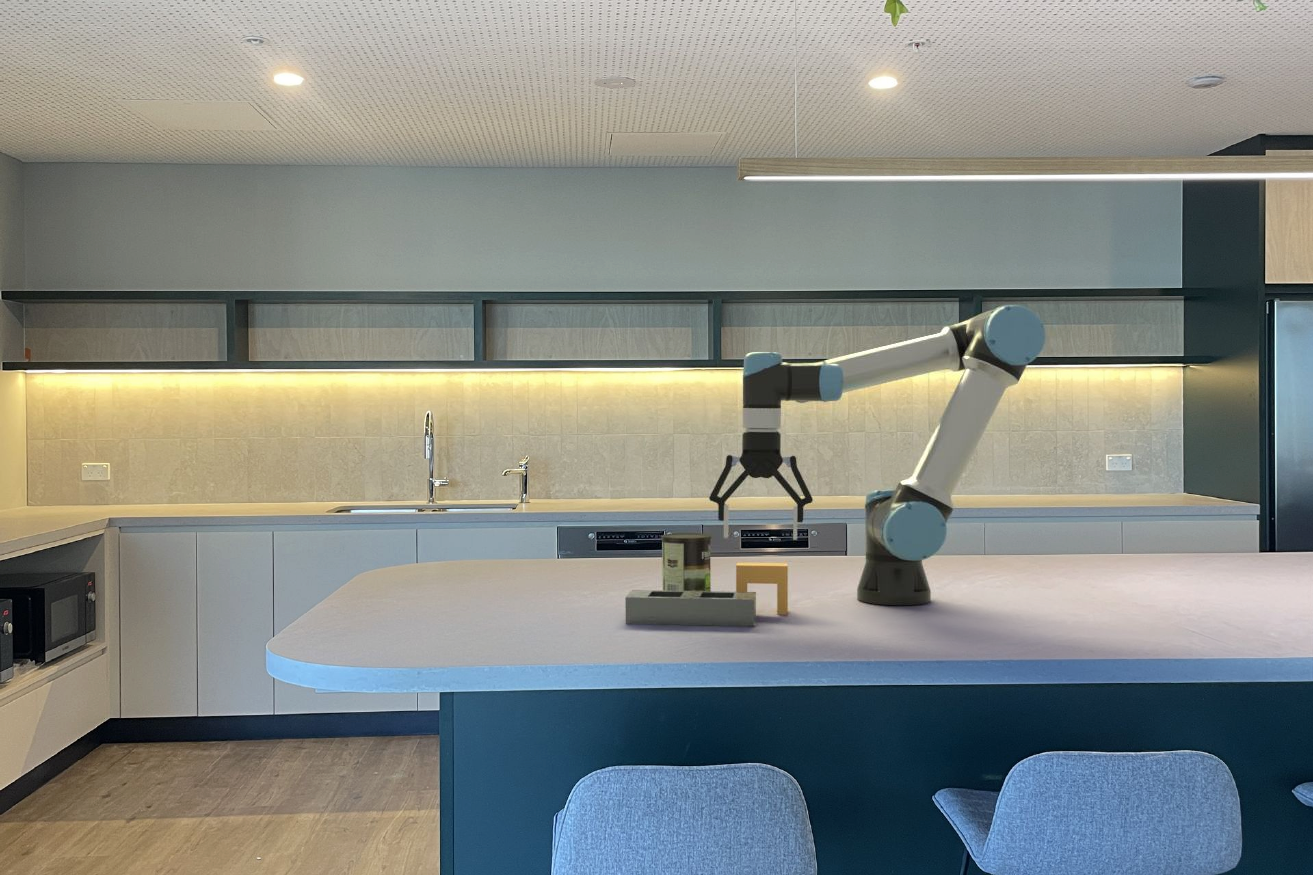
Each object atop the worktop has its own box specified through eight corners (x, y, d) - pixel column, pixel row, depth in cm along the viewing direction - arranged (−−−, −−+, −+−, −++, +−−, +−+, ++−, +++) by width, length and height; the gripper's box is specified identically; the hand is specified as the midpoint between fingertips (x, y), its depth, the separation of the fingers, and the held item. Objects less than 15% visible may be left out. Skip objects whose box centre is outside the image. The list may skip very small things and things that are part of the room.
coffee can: (714, 599, 227) (714, 532, 227) (707, 607, 217) (706, 538, 216) (666, 597, 229) (666, 532, 229) (657, 606, 219) (656, 537, 218)
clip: (787, 610, 213) (787, 563, 213) (787, 614, 209) (787, 566, 209) (737, 609, 214) (737, 562, 214) (736, 613, 210) (736, 565, 210)
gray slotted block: (755, 617, 206) (755, 591, 206) (754, 626, 197) (754, 599, 197) (632, 615, 209) (632, 589, 209) (625, 623, 200) (625, 597, 200)
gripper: (825, 431, 213) (823, 537, 214) (700, 429, 216) (699, 534, 217) (826, 431, 206) (824, 541, 206) (696, 430, 209) (695, 538, 209)
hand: (760, 538), depth 211 cm, fingers open, 13 cm apart
